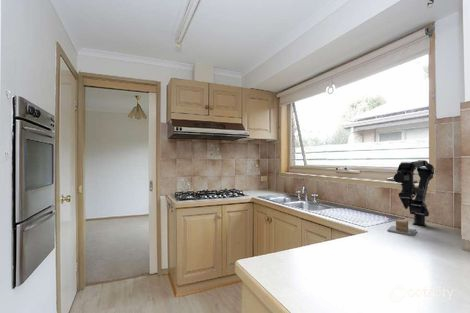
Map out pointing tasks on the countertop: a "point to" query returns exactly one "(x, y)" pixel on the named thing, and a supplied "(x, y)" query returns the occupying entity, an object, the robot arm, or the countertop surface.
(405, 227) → the walnut block
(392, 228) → the slate coaster
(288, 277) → the countertop surface
